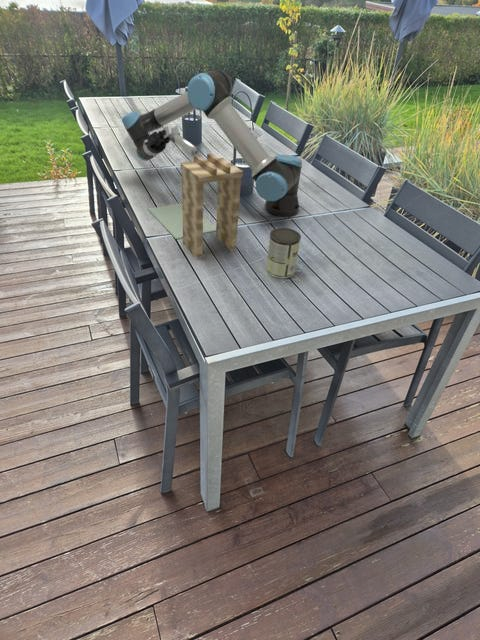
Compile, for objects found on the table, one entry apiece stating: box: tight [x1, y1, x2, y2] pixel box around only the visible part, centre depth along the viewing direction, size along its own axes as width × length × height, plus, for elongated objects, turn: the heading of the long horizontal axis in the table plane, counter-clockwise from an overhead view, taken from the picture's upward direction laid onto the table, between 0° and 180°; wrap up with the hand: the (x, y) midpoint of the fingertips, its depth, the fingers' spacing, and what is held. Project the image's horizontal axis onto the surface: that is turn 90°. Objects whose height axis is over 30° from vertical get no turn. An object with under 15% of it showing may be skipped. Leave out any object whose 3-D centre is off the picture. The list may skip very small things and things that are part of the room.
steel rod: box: [163, 126, 199, 156], centre depth 160 cm, size 24×3×3 cm, turn 31°
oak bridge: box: [180, 152, 244, 260], centre depth 153 cm, size 14×16×32 cm
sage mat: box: [148, 202, 216, 240], centre depth 179 cm, size 28×18×1 cm, turn 31°
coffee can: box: [265, 227, 302, 279], centre depth 150 cm, size 10×10×14 cm
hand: (174, 129), depth 161 cm, fingers closed on steel rod, 3 cm apart
